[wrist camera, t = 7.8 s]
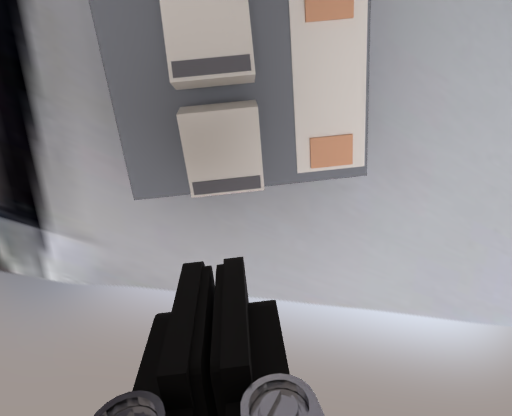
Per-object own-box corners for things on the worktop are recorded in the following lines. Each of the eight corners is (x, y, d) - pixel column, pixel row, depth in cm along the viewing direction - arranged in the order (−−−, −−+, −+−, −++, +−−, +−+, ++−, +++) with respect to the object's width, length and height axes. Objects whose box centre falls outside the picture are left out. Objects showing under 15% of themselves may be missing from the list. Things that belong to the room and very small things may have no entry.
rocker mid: (244, -12, 20) (245, -31, 18) (254, 82, 20) (255, 73, 19) (164, -5, 20) (156, -23, 18) (176, 90, 20) (169, 82, 18)
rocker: (255, 99, 21) (258, 106, 20) (261, 178, 24) (264, 190, 22) (179, 107, 21) (176, 115, 19) (193, 185, 23) (191, 198, 22)
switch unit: (350, -146, 22) (382, -204, 17) (348, 161, 29) (371, 179, 24) (82, -125, 21) (41, -178, 17) (146, 182, 28) (130, 205, 24)
